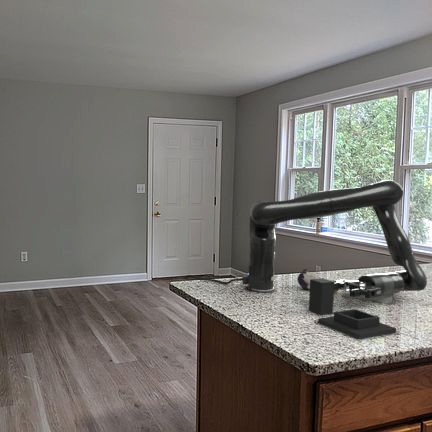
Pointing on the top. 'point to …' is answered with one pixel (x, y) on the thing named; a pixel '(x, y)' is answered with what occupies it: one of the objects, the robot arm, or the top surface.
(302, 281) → the figurine
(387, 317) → the top surface
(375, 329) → the base pad
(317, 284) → the pad block
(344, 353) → the top surface
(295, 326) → the top surface
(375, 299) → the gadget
